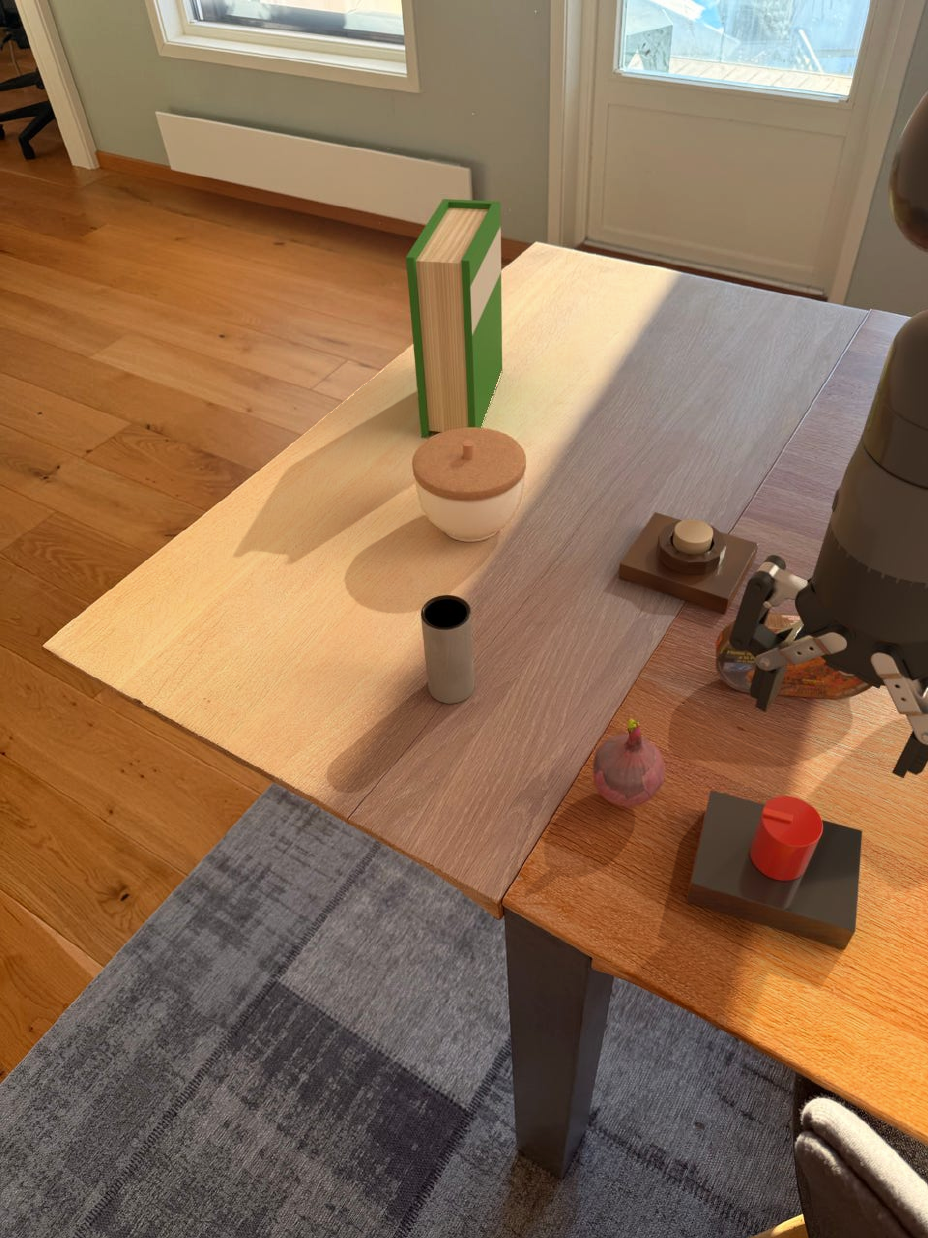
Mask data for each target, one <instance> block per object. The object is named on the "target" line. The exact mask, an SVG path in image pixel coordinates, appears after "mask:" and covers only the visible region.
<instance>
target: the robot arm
mask: <svg viewBox="0 0 928 1238" xmlns="http://www.w3.org/2000/svg"><path fill="white" fill-rule="evenodd" d="M887 198H888V199H887V200H888V205H889V210H890V214H891V217H892V220H893V222H894V225H895V226H896V228H897V230H898V232H899V234H900V235H901V236H902V237H903V238H904V240H905V241H907V243H908V244H909V245H911V246H912V247H914V248H915V249H917V250H918V251H920V252H923V253H926V254H928V90H926V93H925V94H924V95H923V96H922V98H921V99H920V101H919V102H918V104H917V105H916V106H915V108H914V110H913V112H912V114H911V115H910V117H909V118H908V120H907V122H906V124H905V126H904V128H903V130H902V133H901V134H900V137H899V139H898V142H897V143H896V147H895V150H894V153H893V156H892V160H891V164H890V168H889V175H888V183H887ZM786 569H787V564H786V561H785V560H784V559H783V558H782V557H781V556H780V555H775V554H771V555H768V556H767V557H766V559H765V560H763V562H762V563H761V564H760V565H759V566H758V568H757V569H756V571H755V572H754V573H753V575H752V576H751V577H750V578H749V580H748V582H747V583H746V587H745V590H744V593H743V596H742V599H741V602H740V604H739V608H738V611H737V614H736V617H735V619H734V621H735V623H734V626H733V629H732V632H731V635H730V638H729V643H730V645H731V646H732V647H733V648H734V649H736V650H738V651H745V650H747V651H748V652H750V653H751V654H752V655H753V656H754V657H755V663H756V668H755V672H754V676H753V680H752V683H751V686H750V693H749V694H750V698H753V699H755V700H756V702H755V704H754V705H755V706H754V707H755V708H756V709H758V710H760V711H762V712H764V713H767V712H768V711H769V709H770V708H771V706H772V704H773V703H774V702H775V700H776V698H777V697H778V696H779V695H778V693H779V691H780V688H781V685H782V682H783V679H784V676H785V672H786V669H787V666H788V664H790V663H791V665H792V666H795V665H798V664H800V663H803V662H806V661H809V660H811V659H814V658H817V657H821V658H823V659H824V660H825V661H826V662H825V665H826V666H829V667H831V668H833V669H835V670H838V671H842V672H846V673H850V674H853V675H854V676H856V677H857V678H859V679H860V680H862V681H863V682H865V683H867V684H869V685H871V686H872V687H874V688H876V689H880V688H881V687H886V690H887V692H888V694H889V696H890V698H891V700H892V702H893V704H894V706H895V709H896V710H897V712H898V714H900V715H901V716H903V715H905V717H906V719H907V721H908V723H909V725H910V728H911V729H912V731H911V733H910V735H909V737H908V739H907V741H906V743H905V745H904V747H903V749H902V751H901V753H900V755H899V757H898V759H897V761H896V763H895V765H894V766H893V769H892V772H891V774H893V775H895V776H898V777H899V778H902V779H904V778H905V776H906V774H907V773H908V772H909V773H911V774H913V775H915V776H917V775H919V774H921V773H923V772H924V769H925V768H926V766H927V764H928V308H927V309H924V310H922V311H920V312H918V313H916V314H915V315H913V316H911V317H910V318H909V319H907V320H906V321H905V322H904V323H903V325H901V327H900V328H899V330H898V331H897V333H896V334H895V336H894V338H893V341H892V343H891V345H890V347H889V350H888V353H887V355H886V358H885V360H884V363H883V367H882V369H881V373H880V376H879V380H878V383H877V386H876V389H875V392H874V396H873V399H872V402H871V405H870V409H869V412H868V415H867V418H866V420H865V424H864V428H863V431H862V433H861V436H860V438H859V441H858V442H857V445H856V448H855V449H854V451H853V453H852V455H851V457H850V459H849V461H848V464H847V466H846V468H845V471H844V473H843V477H842V480H841V483H840V485H839V487H838V489H836V491H835V494H834V497H833V501H832V505H831V515H830V518H829V520H828V525H827V528H826V531H825V533H824V537H823V541H822V544H821V547H820V550H819V553H818V557H817V560H816V563H815V566H814V569H813V572H812V576H811V577H810V578H808V579H807V580H806V579H805V578H802V577H800V576H798V575H796V574H793V573H791V572H789V571H787V570H786ZM787 600H792V601H794V606H795V610H796V612H797V615H799V616H800V618H801V619H800V620H799V621H798V622H796V623H795V624H793V625H790V626H788V627H785V628H783V629H781V630H778V631H776V632H773V631H772V630H770V629H769V628H768V627H766V626H765V623H766V620H767V617H768V615H769V613H771V610H772V607H779V606H781V605H782V604H783V603H784V601H787Z"/></svg>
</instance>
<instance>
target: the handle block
mask: <svg viewBox="0 0 928 1238" xmlns="http://www.w3.org/2000/svg"><path fill="white" fill-rule="evenodd" d="M765 805H766V803H761V802H760V803H759V802H758V801H757V802H756V801H753V800H749V799H745V798H742V797H738V796H734V795H730V794H727V793H723V792H720V791H715V790H713V789H711V790H709V793H708V798H707V802H706V805H705V809H704V815H703V818H702V824H701V828H700V832H699V837H698V843H697V847H696V852H695V856H694V861H693V866H692V869H691V875H690V880H689V884H688V889H687V893H686V899H685V902H686V903H690V904H692V905H696V906H699V907H702V908H706V909H710V910H712V911H715V912H719V913H721V914H725V915H728V916H732V917H735V918H739V919H742V920H745V921H749V922H752V923H756V924H758V925H762V926H765V927H769V928H772V929H775V930H779V931H781V932H785V933H788V934H790V935H791V934H792V935H794V936H798V937H800V938H801V937H802V938H805V939H808V940H811V941H815V942H818V943H821V944H824V945H828V946H832V947H835V948H838V949H841V950H845V951H846V949H847V947H848V946H849V944H850V942H851V940H852V938H853V937H854V935H855V933H856V928H857V927H856V926H857V918H858V917H857V916H858V915H857V914H858V900H859V886H860V874H861V873H860V871H861V857H862V845H863V833H864V832H863V830H861V829H858V828H854V827H850V826H847V825H843V824H839V823H835V822H832V821H828V820H825V819H822V823H823V832H822V835H821V837H820V840H819V842H818V844H817V846H816V849H815V851H814V853H813V855H812V858H811V860H810V862H809V864H808V867H807V869H806V871H805V872H804V873H803V875H801V876H800V877H798V878H797V879H794V880H790V881H780V880H775V879H772V878H770V877H768V876H766V875H764V874H763V873H762V872H761V871H759V870H758V869H757V867H756V866H755V865H754V863H753V861H752V859H751V856H750V845H751V842H752V839H753V836H754V833H755V830H756V827H757V824H758V821H759V819H760V816H761V813H762V810H763V808H764V806H765Z"/></svg>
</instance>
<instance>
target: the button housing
mask: <svg viewBox="0 0 928 1238" xmlns="http://www.w3.org/2000/svg"><path fill="white" fill-rule="evenodd" d="M683 520H684V519H679V518H675V517H672V516H670V515H667V514H662V513H658V512H653V514H652V516H651V517H650V519H649V520H648V522H647V523H646V525H644V527H643V529H642V531H640V534H638V536H637V537H636V539H635V541H634V542H633V543H632V545H631V546H630V548H629V549H628V551H627V552H626V554H625V555H624V557H623V558H622V560H621V561H620V562H619V569H618V576H617V577H618V579H620V580H623V581H625V582H628V583H631V584H634V585H637V586H640V587H643V588H646V589H649V590H652V591H655V592H657V593H661V594H663V595H666V596H669V597H673V598H675V599H678V600H681V601H685V602H687V603H690V604H692V605H696V606H699V607H702V608H705V609H708V610H711V611H714V612H717V613H720V614H722V615H726V614H727V613H728V610H729V608H730V606H731V605H732V603H733V601H734V599H735V597H736V595H737V594H738V591H739V589H740V588H741V586H742V584H743V582H744V581H745V579H746V576H747V575H748V573H749V571H750V569H751V568H752V566H753V564H754V562H755V560H756V556H757V552H758V548H759V542H755V541H752V540H748V539H745V538H742V537H739V536H735V535H732V534H729V533H725V532H722V531H720V530H718V529H717V528H716V527H714V525H712V524H709V523H707V524H708V525H709V526H710V527H711V528H712V530H713V537H712V542H711V547H710V549H709V550H708V551H707V552H706V553H703V554H699V555H689V554H686V553H683V552H680V551H678V550H677V549H676V548H675V547H674V545H673V535H674V529H675V526H676V525H677V524H678V523H679V522H681V521H683Z"/></svg>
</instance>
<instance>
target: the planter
mask: <svg viewBox="0 0 928 1238" xmlns="http://www.w3.org/2000/svg"><path fill="white" fill-rule="evenodd" d="M420 621H421V631H422V638H423V648H424V649H423V650H424V659H425V667H426V679H427V687H428V691H429V693H430V695H431V697H432V698H433V699H435V701H438V702H439V703H443V704H450V705H451V704H458V703H462V702H463V701H466V700H467V699H469V697H471V695H472V694H473V692H474V690H475V664H474V663H475V662H474V643H473V623H472V609H471V606H470V604H469V603H468V602H467V601H466V600H465V599H464V598H462V597H460V596H457V595H452V594H442V595H437V596H435V597H432V598H430V599H428V600H427V601H426V602H425V603H424V604H423V606H422V607H421V610H420Z"/></svg>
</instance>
